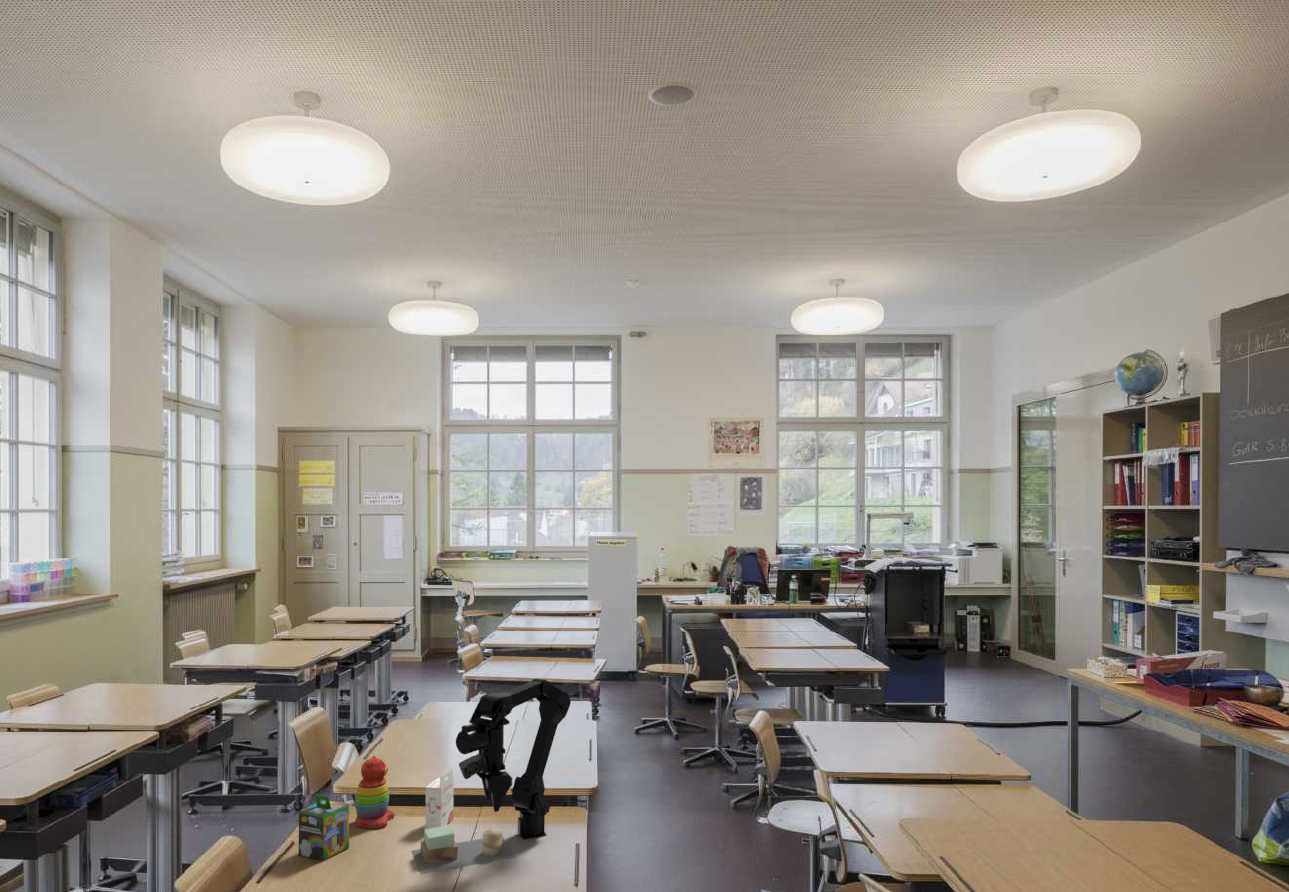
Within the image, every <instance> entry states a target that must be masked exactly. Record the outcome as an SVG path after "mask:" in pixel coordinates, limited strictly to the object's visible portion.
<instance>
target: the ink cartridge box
mask: <svg viewBox="0 0 1289 892" xmlns="http://www.w3.org/2000/svg"><path fill="white" fill-rule="evenodd" d="M447 776H448V777H447ZM454 783H455V782H454V770H453V768H450V769H449V770H447V771H446V772H444V773H443V774H442V775H440V777H437V778H436V779H435V780H433V781H432V782H430V783H429V784H428V785H427V786H425V829H428V828H434V827H441V826H447V825H449V824H450V823H451V822H452V821H453V820H454V786H455V784H454Z"/></svg>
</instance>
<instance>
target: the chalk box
mask: <svg viewBox="0 0 1289 892" xmlns="http://www.w3.org/2000/svg"><path fill="white" fill-rule="evenodd" d="M314 797H315V798H314V799H315V803H313V804H311V805H309V806H308V807H305V808H303V809H301V810H299V811H298V856H302V857H305V858H310V859H313V860H318V861H322V862H324V861H326V860H328V859H329V858H331V857H333V856H335V855H337V854H339V853H341V852H343V851H345V850H347V849H348V848H350V828H349V827H350V803H347V802H341V801H334V800H330V798H329V796H327V795H323V794H317V793H316V794H315V795H314Z"/></svg>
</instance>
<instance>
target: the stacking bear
mask: <svg viewBox="0 0 1289 892" xmlns="http://www.w3.org/2000/svg"><path fill="white" fill-rule="evenodd" d="M360 768H361V769H360V774H361V776H362V779H361V780H360V781H359V783H358V785H357V787H356V793H355V796H354V806H355V807H354V808H355V811H356V812H355V813H356V815H357V816H356V817H355V823H354V824H355V825H356V826H357V827H359V828H362V829H363V828H364V829H369V830H370V829H371V830H372V829H374V830H376V829H377V830H378V829H379V830H380V829H383V828H386V827H387V826H388V821H389V819H390V820H392V819H394V817H395V816H396V815H395V812H394V810H391V809H388V806H389V802H390V792H389V785H388V783H387V779H386V778H385V776H386V775H387V773H388V771H389V768H388V765H387V764H386V763H385V762H384V761H383V760H382V759H381V758H379V757H376V756H375V755H374V756H372V757H371V758H368V759H366V760H365V761H364V762H363V763H362V765H361V767H360ZM391 818H392V819H391Z"/></svg>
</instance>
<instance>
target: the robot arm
mask: <svg viewBox="0 0 1289 892" xmlns="http://www.w3.org/2000/svg"><path fill="white" fill-rule="evenodd" d="M533 699H535V700H536V701H538V703H539V705H538V712H539V715H540V716H539V717H540V721H539V726H538V729H537V732H536V736H535V739H534V742H533V745H532V749H531V752H530V756H529V758H528V762H527V765H526V769H525V772H524V773H523V774H522V775H521V776H516V777H515V779H514V783H513V777H512V776H511V775H510V774H509V772H507V771H506V765H505V763H504V755H505V754H506V749H505V746H504V736H505V735H504V732H505V731H504V730H505V729H504V726H507V725H510V723H511V721H510V720H509V719H508V718H506V717H507V716H508V715H510V714H511V713H512V711H513V709H514V708H516V707H518V706H520V705H523V704H524V703H527V702H529V701H531V700H533ZM570 706H571V698H570V695H569V693H568V692H566V691H563V690H562V689H560V688H558V687H556V686H555V685H553V684H552V683H551V682H550V681H549V680H548V679H542V678H537V677H536V678H534V679H532V680H530V681H528V682H526V683H524V684H521V685H519V686H517V687H515V688H512V689H509V690H507V691H505V692H493V693H488V694H487V693H486V694H483V695H481V696H480V698H479V701H478V703H477V705H476V706H475V709H474V711H473V713H472V716H471V717H470V720H469V724H465V725H462V726H461V731H459V733H458V734H457V736H456V738H455V746H456V749H457V750H458V752H459V753H460V754H462V755H468V754H470V753H471V754H472V753H474V752H476V751H478V753H477V754H475V755H473V756H470V757H469V758H468V757H467V758H466V759H463V761H460V762H459V763H458V767H459V770H460V772H461V775H462V777H463V778H464V779H465V780H468V779H470V778H472V776H475V775H477V776H478V777H479V778H480V779H481V784H482V787H483V791H484V792H483V793H484V796H485V800H486V801H490V800H491V801H492V807H493V808H492V809H493V812H494V813H497V812H500V809H501V806H502V805H503V802H504V800H505V797H506V795H507V793H508V791H509V790H510V789H511V787H512V789H511V791H510V792H511V797H510V798H511V802H512V803H513V804H512V805H513V807H514V810H515V812H519V816H518V817H517V833H518V835H519V836H520V837H521V838H522V840H530V839H535V838H536V839H537V838H542V837H546V836H547V833H546V832H545V821H546V820H545V816H547V814H548V813H549V812H550V808H551V803H550V802H549V801H548V800H547V798H545V796H544V795H545V791H546V790H545V789H546V788H545V783H544V773H545V770H546V767H547V762H548V759H549V756H550V752H551V750H552V746H553V744H554V743H553V742H554V739H555V736H556V733H557V732H556V731H557V727H558V725H559V724H560V723H561V722H562V721H563V720H564V719H565V717H566V716H567V714H568V712H569V709H570Z"/></svg>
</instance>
